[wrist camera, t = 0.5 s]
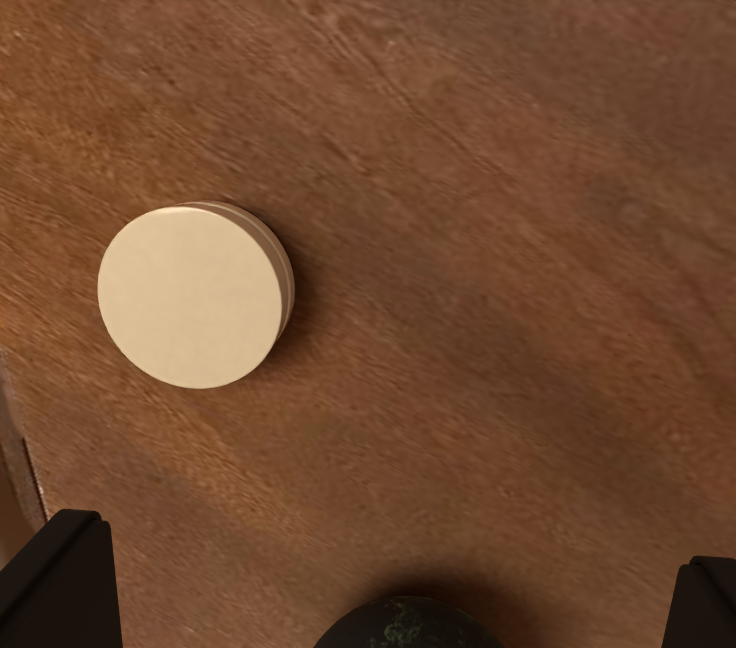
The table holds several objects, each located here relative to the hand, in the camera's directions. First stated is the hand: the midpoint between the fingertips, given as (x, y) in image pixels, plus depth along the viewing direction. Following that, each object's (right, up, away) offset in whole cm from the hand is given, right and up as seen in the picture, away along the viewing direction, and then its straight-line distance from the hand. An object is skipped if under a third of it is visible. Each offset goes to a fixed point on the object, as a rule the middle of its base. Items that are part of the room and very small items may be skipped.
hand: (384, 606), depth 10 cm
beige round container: (-7, +6, +15) cm, 17 cm away
